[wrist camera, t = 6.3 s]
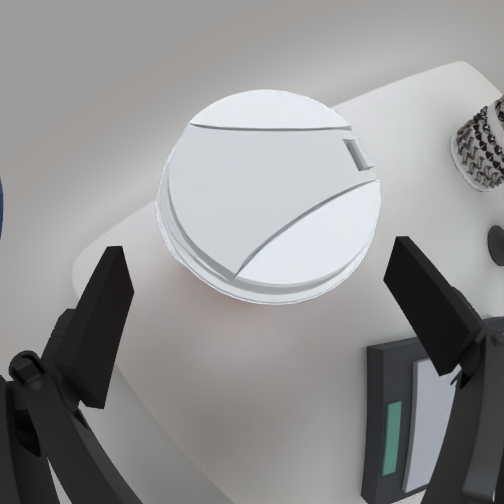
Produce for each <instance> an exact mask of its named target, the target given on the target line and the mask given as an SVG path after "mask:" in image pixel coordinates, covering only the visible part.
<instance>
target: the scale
mask: <svg viewBox="0 0 504 504" xmlns="http://www.w3.org/2000/svg"><path fill="white" fill-rule="evenodd" d="M482 321H483V322H484V323H485V325H486V326H487V327H488V329H489V330H491V329H495V330H498V331H500V332H501V333H503V334H504V316H503V317H491V318H487V319H484V320H482ZM460 370H461V367H460V365H459V364H458V365H457V366H456V368H455V369H454V370H453V372H452V373H449V374H446V375H443V376H440V377H439V375H438V373H437V371H436V369H435V367H434V366H433V364H432V362H431V360H430V358H429V356H428V354H427V353H426V351H425V349H424V347H423V345H422V344H421V342H420V340H419V338H418V337H414V338H410V339H405V340H400V341H395V342H390V343H385V344H379V345H374V346H368V347H367V374H368V399H367V433H366V450H365V464H364V475H363V485H362V493H361V496H362V497H363V499H364V500H365V501H366V502H367V503H368V504H391V503H394V502H397V501H399V500H402V499H404V498H407V497H409V496H412V495H414V494H416V493H419V492H421V491H423V490H425V489H427V487H428V484H429V481H430V479H431V476H432V473H433V471H434V468H435V465H436V462H437V459H438V456H439V453H440V449H441V446H442V443H443V439H444V436H445V432H446V428H447V425H448V421H449V417H450V412H451V408H452V403H453V399H454V394H455V388H456V387H455V385H456V383H457V380H456V381H455V382H454V383H453V385H450V383H451V381H452V380H453V379H454V377H455V376H456V375H457V374H458V372H459V371H460Z"/></svg>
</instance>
